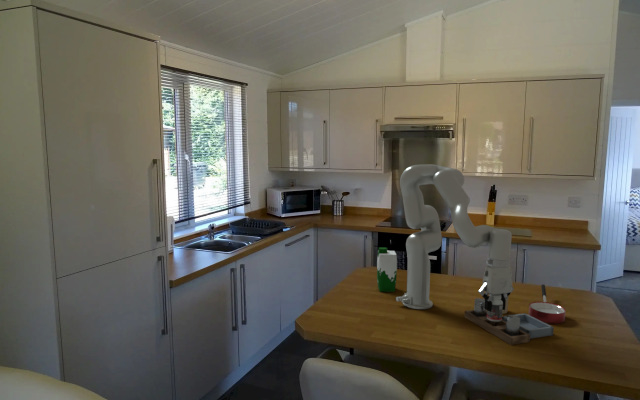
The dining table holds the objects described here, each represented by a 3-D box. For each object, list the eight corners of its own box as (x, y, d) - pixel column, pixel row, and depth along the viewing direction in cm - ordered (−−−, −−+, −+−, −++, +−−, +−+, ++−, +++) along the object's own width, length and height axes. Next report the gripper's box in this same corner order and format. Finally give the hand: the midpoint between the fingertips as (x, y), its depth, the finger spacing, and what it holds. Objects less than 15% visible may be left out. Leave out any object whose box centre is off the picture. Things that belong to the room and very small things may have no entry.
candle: (508, 314, 183) (510, 290, 182) (494, 313, 185) (495, 289, 183) (506, 309, 189) (507, 286, 188) (492, 308, 190) (493, 285, 189)
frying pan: (520, 295, 206) (521, 282, 206) (552, 298, 203) (553, 285, 202) (531, 322, 176) (532, 306, 175) (568, 326, 172) (569, 310, 171)
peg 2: (511, 342, 158) (512, 320, 157) (502, 336, 162) (503, 315, 161) (521, 340, 159) (522, 318, 158) (512, 335, 163) (513, 314, 162)
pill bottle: (484, 319, 169) (485, 294, 168) (489, 315, 173) (491, 290, 172) (498, 323, 165) (500, 297, 164) (503, 319, 169) (505, 294, 168)
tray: (528, 338, 160) (529, 330, 160) (501, 323, 174) (502, 316, 173) (553, 335, 164) (553, 327, 163) (524, 320, 177) (525, 313, 177)
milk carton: (375, 286, 218) (376, 245, 215) (394, 286, 218) (395, 246, 215) (377, 292, 209) (378, 250, 207) (397, 292, 209) (398, 250, 206)
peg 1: (478, 322, 175) (479, 302, 174) (471, 318, 179) (472, 298, 178) (487, 321, 176) (489, 301, 175) (480, 317, 180) (481, 297, 179)
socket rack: (510, 344, 156) (511, 338, 155) (464, 316, 180) (464, 310, 180) (529, 341, 158) (530, 335, 158) (481, 314, 183) (481, 308, 182)
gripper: (485, 267, 160) (481, 315, 162) (524, 263, 165) (520, 310, 168) (472, 261, 167) (469, 308, 170) (510, 258, 172) (506, 303, 175)
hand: (494, 308), depth 169 cm, fingers closed on pill bottle, 5 cm apart
